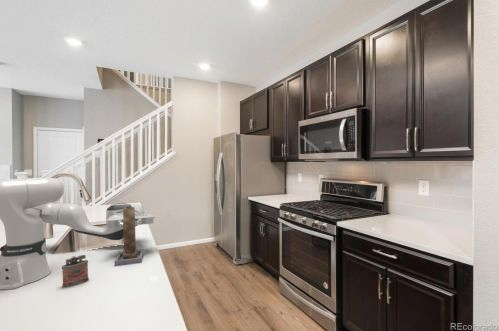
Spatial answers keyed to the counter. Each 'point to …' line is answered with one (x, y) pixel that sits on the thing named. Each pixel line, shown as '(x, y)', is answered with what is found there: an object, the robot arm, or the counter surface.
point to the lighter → (75, 271)
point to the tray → (122, 261)
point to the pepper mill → (129, 232)
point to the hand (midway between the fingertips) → (128, 224)
